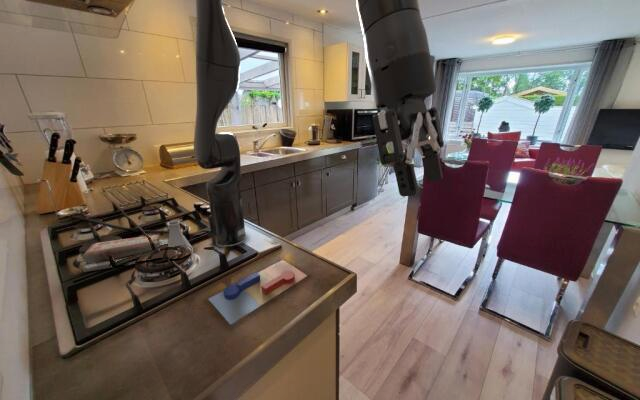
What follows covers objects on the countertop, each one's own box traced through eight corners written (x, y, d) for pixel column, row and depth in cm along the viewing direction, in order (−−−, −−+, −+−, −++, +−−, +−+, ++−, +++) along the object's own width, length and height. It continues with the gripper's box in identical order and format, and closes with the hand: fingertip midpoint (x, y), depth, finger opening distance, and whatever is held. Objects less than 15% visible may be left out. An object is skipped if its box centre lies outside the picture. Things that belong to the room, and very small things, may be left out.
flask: (191, 244, 77) (185, 214, 74) (196, 255, 72) (190, 224, 68) (164, 251, 73) (156, 221, 70) (167, 263, 68) (159, 231, 64)
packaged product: (76, 257, 62) (93, 238, 70) (83, 274, 64) (98, 253, 72) (160, 244, 68) (166, 228, 77) (164, 259, 70) (169, 241, 78)
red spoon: (268, 297, 56) (267, 291, 55) (259, 290, 58) (258, 283, 58) (297, 279, 62) (297, 273, 61) (288, 273, 64) (288, 267, 64)
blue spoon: (254, 276, 63) (254, 270, 62) (262, 282, 61) (262, 276, 60) (221, 294, 57) (220, 287, 56) (228, 302, 55) (227, 295, 54)
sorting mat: (230, 327, 49) (230, 324, 49) (208, 300, 56) (208, 298, 55) (307, 277, 64) (307, 275, 63) (282, 261, 70) (282, 259, 70)
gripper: (397, 80, 40) (418, 180, 42) (341, 73, 30) (371, 203, 32) (447, 57, 34) (468, 173, 36) (399, 38, 24) (431, 198, 26)
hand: (423, 187), depth 34 cm, fingers open, 8 cm apart
